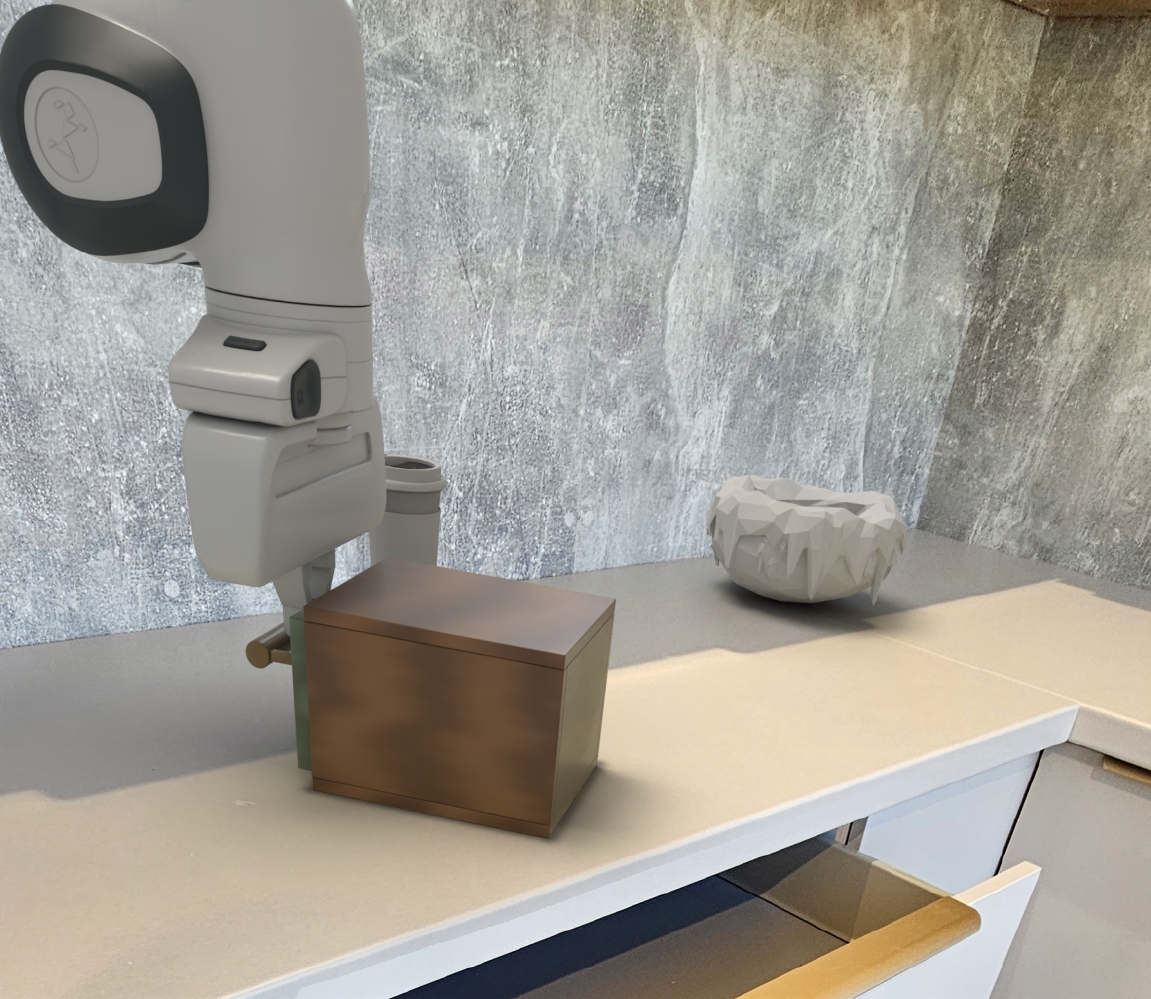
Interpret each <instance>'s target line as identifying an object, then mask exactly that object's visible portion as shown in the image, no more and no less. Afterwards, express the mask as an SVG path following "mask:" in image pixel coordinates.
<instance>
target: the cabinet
mask: <svg viewBox="0 0 1151 999" xmlns="http://www.w3.org/2000/svg"><path fill="white" fill-rule="evenodd" d="M616 604H617V599H616V598H614V597H611V596H610V597H609V596H604V595H599V594H593V593H588V592H581V591H576V590H571V589H566V588H560V587H554V586H548V585H543V584H538V583H532V582H528V581H527V582H526V581H521V580H515V579H509V578H505V577H500V576H493V575H489V574H482V573H477V572H471V571H466V570H462V569H461V570H460V569H455V568H449V567H443V566H438V565H436V566H433V565H428V564H422V563H417V562H411V561H406V560H400V559H395V558H389V557H387V558H385V559H383V560H382V561H380V562H378V563H376V564H375V565H373V566H371V565H370V566H369V567H368V568H366V569H364V570H363V571H361V572H359V573H357V574H356V575H354V576H353V577H350V578H349V579H347V580H346V581H344V582H342V583H340V584H338V585H337V586H335V587H334V588H331V590H330V591H328V592H327V593H325V594H323V595H322V596H320V597H318V598H316V599H315V600H313V601H311V602H310V603H308V604H306V605H304V607H303V610H304V621H305V622H304V628H305V648H306V668H307V687H308V707H309V727H310V747H311V766H312V771H311V777H312V778H311V784H312V785H311V786H312V787H311V788H312V790H313V791H318V792H322V793H327V794H332V795H337V796H341V797H346V798H351V799H356V800H361V801H366V802H370V803H376V804H380V805H384V806H390V807H396V808H400V809H405V810H409V811H410V810H411V811H414V812H420V813H425V814H430V815H433V816H438V817H444V818H448V819H452V820H453V819H454V820H459V821H463V822H468V823H473V824H477V825H478V824H479V825H483V826H488V827H493V828H497V829H502V830H508V831H513V832H517V833H522V834H528V835H531V836H537V837H542V838H546V839H549V838H550V836H551V835H552V834H553V832H554V830H555V829H556V828H557V826H558V824H559V823H560V821H561V820H562V818H563V817H564V816H565V814H566V812H567V811H568V809H569V808H570V807H571V805H572V803H573V802H574V800H575V799H576V797H577V796H578V794H579V793H580V791H581V789H582V788H583V786H584V785H585V783H586V782H587V781H588V779H589V777H590V775H591V774H592V772H593V771H594V770H595V768H596V766H597V765H598V759H599V753H600V751H599V750H600V743H601V733H602V726H603V717H604V709H605V700H606V690H607V681H608V674H609V665H610V656H611V649H612V648H611V647H612V639H613V630H614V621H615V611H616Z"/></svg>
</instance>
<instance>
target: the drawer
mask: <svg viewBox="0 0 1151 999" xmlns="http://www.w3.org/2000/svg"><path fill="white" fill-rule="evenodd" d="M304 622H305V621H304V610H303V609H302V610H300V611H299V612H297V613H295V614H294V615H292V616H290V617H289V625H290V636H288V635H287V634H286V632H285V630H284V621H282V623H281V622H280V624H278V625H276V626H275V627H273V628H271V629H269V630H268V631H265V632H264V633H263V634H261V635H259V636H257V637H255V638H254V639H252V640H251V641H249V642H248V643H247V644H246V646H245V657H246V659H247V661H248V662H249V664H250V665H252V667H254V668H256V669H259V670H260V669H265V668H266V667H268V666H270V665H271V664H273V663H277V664H282V665H287V666H291V674H292V675H291V676H292V694H293V704H294V705H293V709H294V725H295V744H296V760H297V769H299V770H302V771H303V770H304V771H308V772H312V766H311V747H310V727H309V707H308V687H307V668H306V648H305V628H304Z"/></svg>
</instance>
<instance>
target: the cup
mask: <svg viewBox="0 0 1151 999" xmlns="http://www.w3.org/2000/svg"><path fill="white" fill-rule="evenodd" d="M384 455H385V474H386V508H385V513H384V517H383V521H382V523H381V525H380V526H378V527H376V528H374V529H372V530H370V531H368V532H367V533H368V544H369V557H370V567H371V566H373V565H375V564H376V563H378V562H380V561H382V560H383V559H385V558H387V557H389V558H395V559H400V560H406V561H411V562H417V563H422V564H428V565H433V566H438V564H437V563H438V553H439V552H438V551H439V550H438V549H439V538H440V528H441V527H440V525H441V513H442V508H441V507H440V505H441V504H440V503H441V492H442V491H443V490H445V489H446V488H447V486H448V485H447V479H446V476H444V475H443V474H442V466H441V463H439V462H438V461H435V460H432V459H429V458H425V457H421V456H415V455H409V454H408V455H407V454H406V455H405V454H395V453H384Z"/></svg>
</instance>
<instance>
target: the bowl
mask: <svg viewBox="0 0 1151 999" xmlns="http://www.w3.org/2000/svg"><path fill="white" fill-rule="evenodd" d="M705 519H706V521H707V524H706V535H707V536H710V537H711V544H710V548H711V550H712V553H713V556H714V561H715V565H716V566H720V564H721V565H722V566H723V568H724V569H725V571H726V572H727V574H728V575H729V576H730V577H731V578H732V579H733V581H734V582H735V584H737V585H738V586H740V587H743V588H744V589H747V590H748V591H750V592H753V593H755V594H756V595H759V596H760V597H766V598H768V599H771V600H775V601H779V602H785V603H797V604H798V603H800V604H817V603H821V602H827V601H831V600H837V599H843V598H849V597H851V596H853V595H856V594H859V593H860V592H862V591H865V590H867V589H870V601H871V603H872V607H874V606H875V605H876V601H877V599H878V595H879V592H880V589H881V586H882V583H883V582H884V581H885V580H886V579H887V577H888V575H889V574H890V573H891V571H892V568H893V567H894V566H896V565H897V563H898V554H899V553H900V555H903V553H904V551H905V549H907V526H906V524H905V520H904V519H903V517H902V514H901V511H900V509H899V507H898V505H897V504H896V501H895V499H894V497H893V496H890V495H887V494H884V493H880V492H878V491H874V490H868V491H867V490H866V491H864V490H863V491H860V492H856V493H853V492H852V493H851V492H842V491H835V490H831V489H827V488H823V487H819V486H814V485H808V484H803V483H801V482H798V481H795V480H793V479H791V478H789V477H779V478H778V477H777V478H766V477H764V476H759V475H757V474H745V475H739V476H735V477H734V476H733V477H730V478H728V479H727V480H725V482H724V483H722V484H721V485H720V488H719V490H718V491H717V493H716V494H715V495H714V500H713V502H712V504H711V505H710V507H709V509H708V511H707V512H706V515H705Z"/></svg>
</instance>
